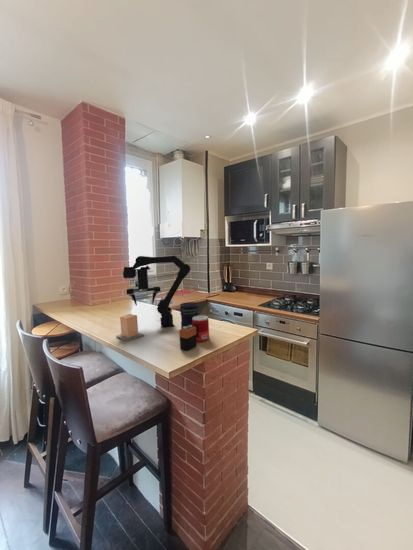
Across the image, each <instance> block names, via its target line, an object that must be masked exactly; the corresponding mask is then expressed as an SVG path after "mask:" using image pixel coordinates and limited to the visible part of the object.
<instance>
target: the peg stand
mask: <svg viewBox="0 0 413 550" xmlns="http://www.w3.org/2000/svg"><path fill="white" fill-rule="evenodd" d="M144 336H145V334H144V333H141V332H139V331H138V335H135V336H132V337H129V338H128V337H125V336H122V335H121V333H120V334H118V335H116V336H115V337H117V339H119V338H120V339H119V340H121V339H122V341H124V340H125V341H124V342H126V341H127V342H129V340H130V341H133V340H135V339H140V338H141V337H142V338H143V337H144ZM132 339H133V340H132Z"/></svg>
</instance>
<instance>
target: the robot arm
mask: <svg viewBox="0 0 413 550" xmlns="http://www.w3.org/2000/svg"><path fill="white" fill-rule="evenodd" d="M163 263H165V264H166V263H167V264H168V263H173V264H174V265H175V266H176V267H178V268H179V270H178V273H177V277H176V278H175V280H174V282H173V284H172V285H171V287H170V288H169V290H168V292H167V294H166V295H165V297H164V298H163V297H161V298H160V300H159V302H158V304H157V305H156V306H157V307H156V310H157V312H158V313H159V314H160V316H161V317H160V318H159V319H160V326H161V327H162V328H167V327H169V328H170V327H174V326H175V325H174V318H173V316H174V315H173V313H172V312H173V309H172V308H171V307H170V304H171V302H172V299H173V297H174V295H175V294H176V292H177V290H178V289H179V287H180V285H181V284H182V282H183V280H184V279H185V278H186V277H187V276H188V274H189V273H190V272H191V265H190V264H189V263H185V262H184V261H183V260H181V259H180V258H179V257H178V256H177V255H174V254H173V255H165V256H148V255H147V256H146V255H139V256H137V257H135V263H134V264H133V265H132V266H123V273H122V276H123V279H124V280H126V279H127V280H128V279H135V278H136V277H137V281H134V285H135V288H134V287H127V288H126V295H128V296H130V297H132V300H133V301H134V304H135V306H137V305H138V303H137V298H136V294H135V293H143V292H152V293H151V294H152V295H151V296H152V297H151V298H152V299H151V304H152V305H154V302H155V299H156V296H157V294H159V292H161V286H159V285H153V286H152V287H149V278H148V277H149V276H148V275H149V274H148V271H150V270H151V269H152V268H151V267H150V266H149V265H152V264H153V265H154V264H163Z"/></svg>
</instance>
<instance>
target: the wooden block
mask: <svg viewBox="0 0 413 550" xmlns="http://www.w3.org/2000/svg"><path fill="white" fill-rule="evenodd" d="M119 319H120V331H121V332H120V334H121V335H122V336H125V337H128V338H129V337H132V336H135V335H138V332H139V323H138V315H137V314H132V313H129V314H125V315H121V316H119Z"/></svg>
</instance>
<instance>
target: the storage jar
mask: <svg viewBox="0 0 413 550" xmlns="http://www.w3.org/2000/svg"><path fill="white" fill-rule="evenodd" d="M179 306H180V308H179V310H180V311H179V312H180V319H181V321H180V329H182V328H183V327H185V326H188V325H192V318H193V317H194V316H199V313H200V308H199V302H195V301H189V302H187V301H186V302H183V303H180V304H179ZM192 326H193V325H192Z"/></svg>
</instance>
